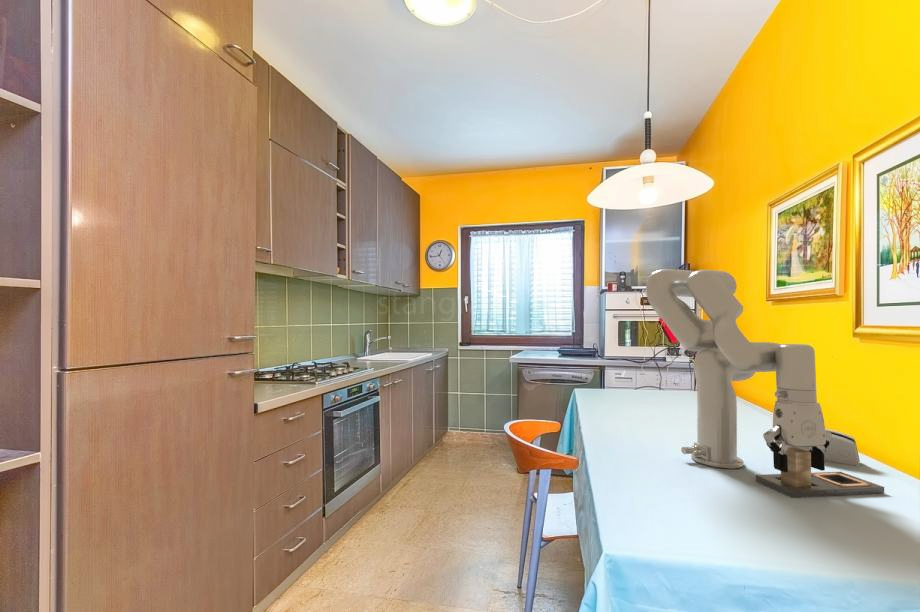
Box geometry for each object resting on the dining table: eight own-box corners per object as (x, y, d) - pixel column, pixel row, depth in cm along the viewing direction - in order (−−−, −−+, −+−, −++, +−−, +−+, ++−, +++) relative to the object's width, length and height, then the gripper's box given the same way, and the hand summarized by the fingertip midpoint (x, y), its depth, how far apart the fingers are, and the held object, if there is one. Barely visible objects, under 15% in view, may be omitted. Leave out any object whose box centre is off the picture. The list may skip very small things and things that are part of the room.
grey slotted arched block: (860, 462, 122) (859, 430, 120) (859, 471, 119) (859, 439, 117) (786, 449, 134) (784, 420, 132) (784, 457, 131) (782, 428, 128)
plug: (796, 491, 100) (795, 452, 100) (780, 485, 104) (780, 447, 104) (811, 491, 101) (810, 452, 101) (795, 484, 104) (795, 447, 105)
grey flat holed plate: (792, 497, 96) (792, 490, 97) (755, 481, 106) (755, 474, 106) (884, 493, 100) (884, 486, 100) (840, 477, 110) (840, 470, 110)
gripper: (777, 399, 98) (780, 476, 97) (843, 398, 100) (847, 473, 99) (750, 394, 105) (753, 466, 104) (813, 393, 108) (816, 463, 107)
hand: (799, 469), depth 102 cm, fingers open, 9 cm apart
